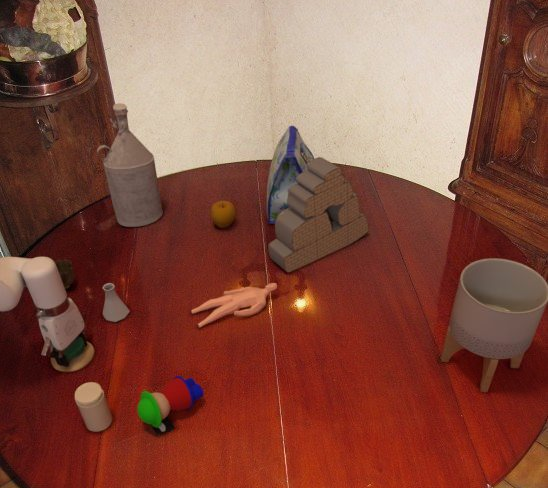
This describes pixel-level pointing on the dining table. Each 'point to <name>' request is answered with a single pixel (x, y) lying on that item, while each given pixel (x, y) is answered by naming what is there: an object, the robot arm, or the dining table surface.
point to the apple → (223, 213)
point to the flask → (113, 305)
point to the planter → (495, 313)
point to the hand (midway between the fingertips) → (72, 354)
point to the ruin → (317, 217)
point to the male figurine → (236, 303)
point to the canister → (131, 176)
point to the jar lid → (74, 348)
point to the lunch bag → (285, 171)
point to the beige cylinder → (93, 406)
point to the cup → (65, 273)
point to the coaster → (76, 360)
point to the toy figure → (168, 403)
